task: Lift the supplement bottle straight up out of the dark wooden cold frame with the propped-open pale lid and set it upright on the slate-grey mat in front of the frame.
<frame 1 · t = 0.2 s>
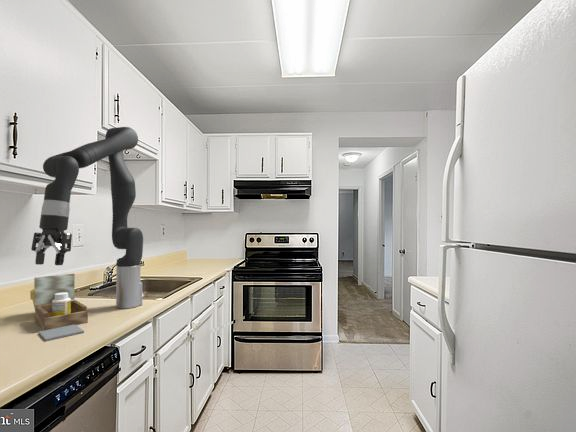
hand: (48, 264, 105), 22 cm above the counter, tool pointing down, fingers open, 8 cm apart
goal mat: (61, 333, 104), on the counter
supplement bottle: (61, 322, 116), resting in cold frame
plant pot: (47, 314, 126), on the counter
cold frame: (61, 322, 116), on the counter
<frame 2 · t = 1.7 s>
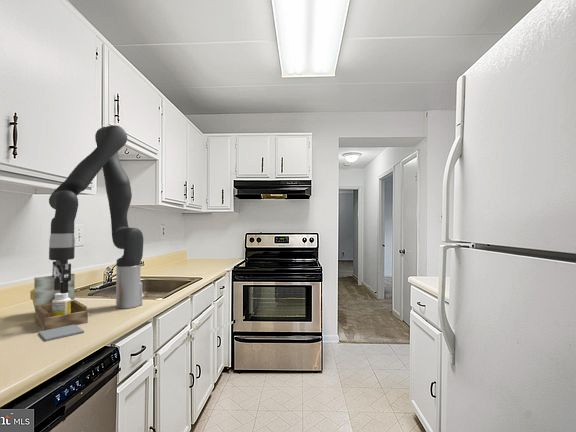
hand: (60, 291, 116), 11 cm above the counter, tool pointing down, fingers open, 8 cm apart
nothing on the counter moved.
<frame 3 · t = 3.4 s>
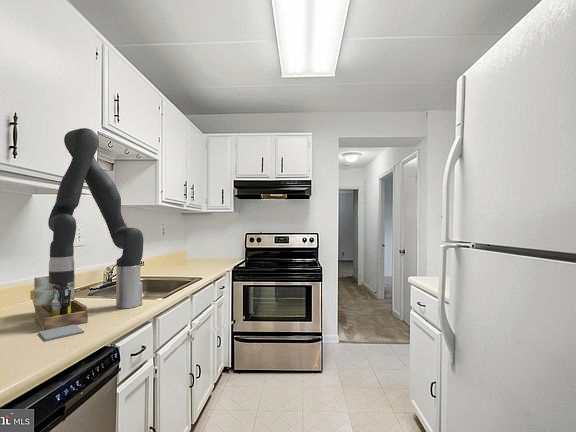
hand: (61, 316, 116), 2 cm above the counter, tool pointing down, fingers closed on supplement bottle, 5 cm apart
supplement bottle: (61, 322, 116), resting in cold frame, touching gripper
everything else where it was.
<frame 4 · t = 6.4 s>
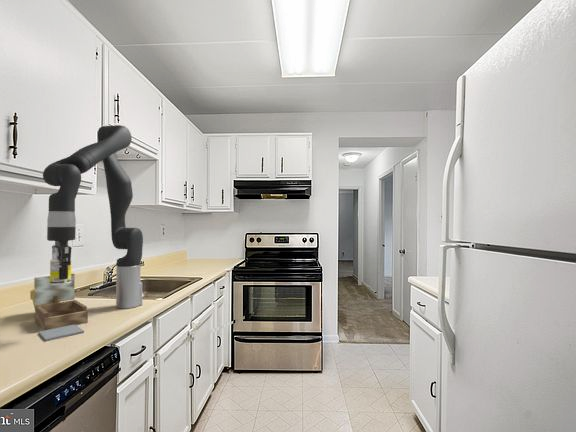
hand: (61, 277, 104), 18 cm above the counter, tool pointing down, fingers closed on supplement bottle, 5 cm apart
supplement bottle: (60, 284, 104), point 15 cm above the counter, touching gripper
everything else where it was.
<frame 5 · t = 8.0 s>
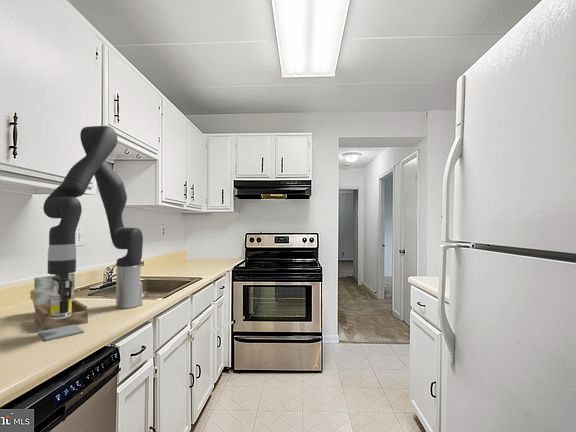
hand: (61, 310, 104), 7 cm above the counter, tool pointing down, fingers closed on supplement bottle, 5 cm apart
supplement bottle: (61, 317, 104), point 5 cm above the counter, touching gripper
everything else where it was.
when the fingers open (4 cm above the counter, at t = 9.4 s): supplement bottle drops 2 cm, resting on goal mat.
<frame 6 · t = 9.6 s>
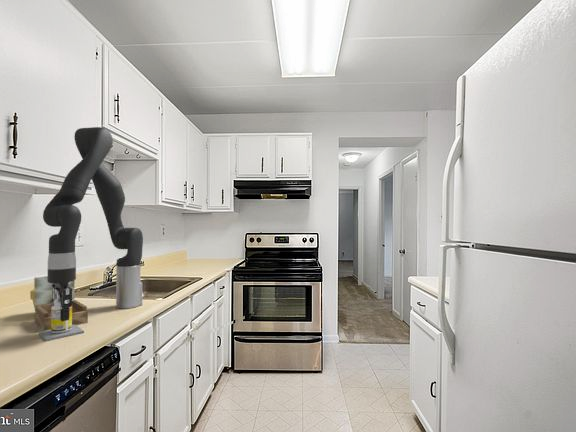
hand: (61, 318, 104), 5 cm above the counter, tool pointing down, fingers open, 7 cm apart
supplement bottle: (61, 331, 104), resting on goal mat
everything else where it was.
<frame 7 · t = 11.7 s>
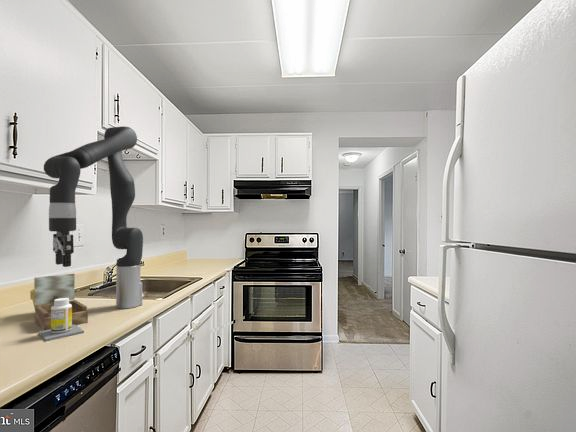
hand: (63, 265, 108), 21 cm above the counter, tool pointing down, fingers open, 8 cm apart
nothing on the counter moved.
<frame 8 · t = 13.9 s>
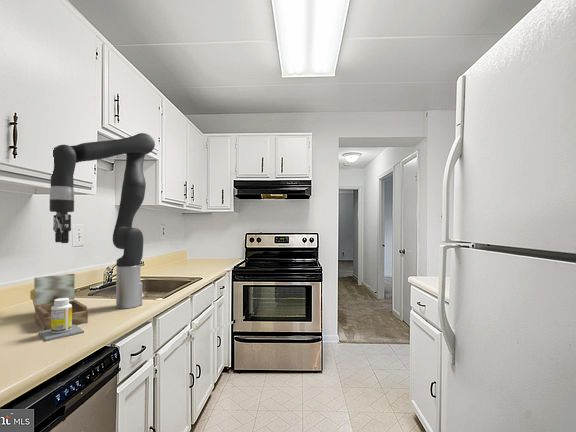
hand: (61, 242, 120), 28 cm above the counter, tool pointing down, fingers open, 8 cm apart
nothing on the counter moved.
at the end: supplement bottle 0.1 cm off-centre on the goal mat, point 0.4 cm above the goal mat's base; supplement bottle tilted 0°; the gripper is holding nothing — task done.
